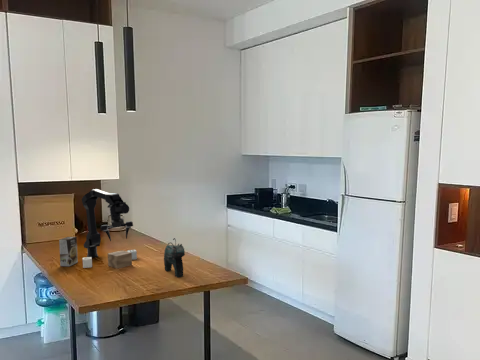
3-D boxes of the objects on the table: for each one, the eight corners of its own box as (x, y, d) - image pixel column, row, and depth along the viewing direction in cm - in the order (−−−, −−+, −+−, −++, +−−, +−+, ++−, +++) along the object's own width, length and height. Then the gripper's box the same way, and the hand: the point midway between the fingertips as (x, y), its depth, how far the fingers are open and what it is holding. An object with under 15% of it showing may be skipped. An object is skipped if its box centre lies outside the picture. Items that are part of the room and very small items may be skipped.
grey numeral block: (127, 258, 278) (127, 250, 278) (135, 257, 280) (135, 249, 280) (128, 260, 274) (128, 251, 273) (136, 259, 276) (136, 251, 275)
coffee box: (69, 266, 261) (68, 239, 260) (60, 266, 263) (58, 239, 261) (78, 262, 270) (77, 236, 269) (68, 262, 272) (67, 236, 270)
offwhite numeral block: (82, 266, 262) (82, 257, 262) (91, 265, 264) (91, 256, 264) (83, 268, 258) (82, 259, 257) (92, 267, 259) (91, 258, 259)
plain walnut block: (108, 265, 262) (107, 253, 261) (122, 262, 269) (122, 250, 268) (117, 268, 255) (116, 256, 254) (132, 265, 262) (131, 252, 261)
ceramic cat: (186, 277, 235) (185, 240, 234) (175, 279, 232) (174, 241, 230) (171, 268, 252) (170, 234, 251) (160, 270, 249) (159, 235, 247)
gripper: (98, 217, 256) (102, 244, 256) (131, 212, 261) (134, 238, 261) (99, 216, 267) (102, 242, 267) (131, 212, 272) (134, 237, 272)
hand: (118, 240), depth 267 cm, fingers open, 9 cm apart
